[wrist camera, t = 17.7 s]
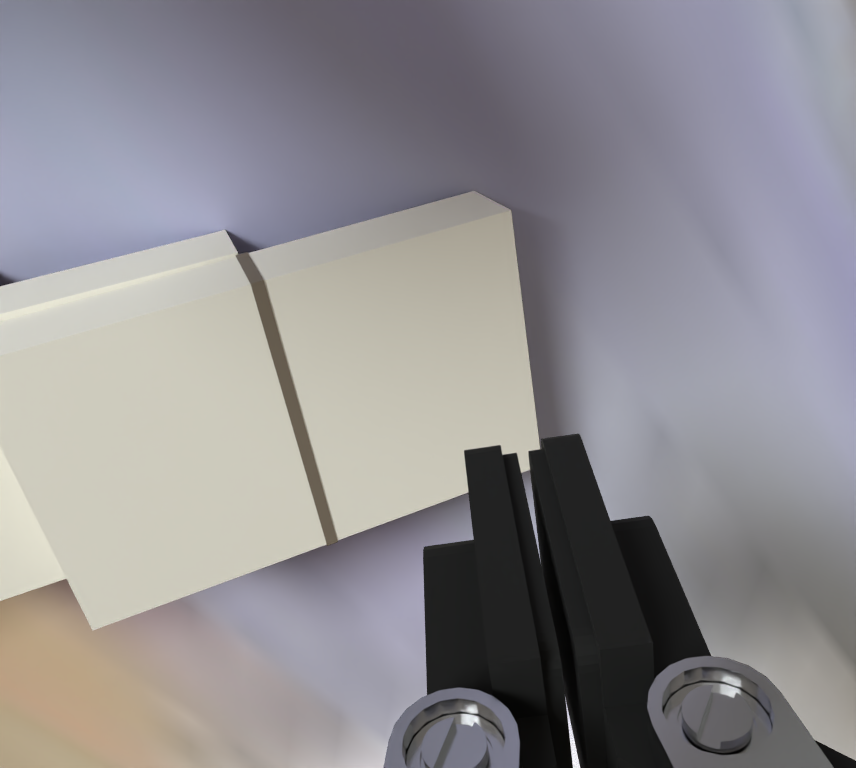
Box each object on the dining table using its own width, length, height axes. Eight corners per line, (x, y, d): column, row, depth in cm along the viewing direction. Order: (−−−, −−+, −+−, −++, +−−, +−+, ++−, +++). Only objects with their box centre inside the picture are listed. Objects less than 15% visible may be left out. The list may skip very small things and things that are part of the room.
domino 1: (290, 460, 21) (-149, 603, 18) (225, 228, 18) (-307, 362, 15) (305, 498, 19) (-171, 660, 17) (237, 252, 16) (-352, 404, 14)
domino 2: (507, 429, 20) (93, 575, 18) (473, 189, 17) (-27, 327, 15) (542, 466, 19) (92, 632, 16) (511, 209, 16) (-41, 366, 13)
